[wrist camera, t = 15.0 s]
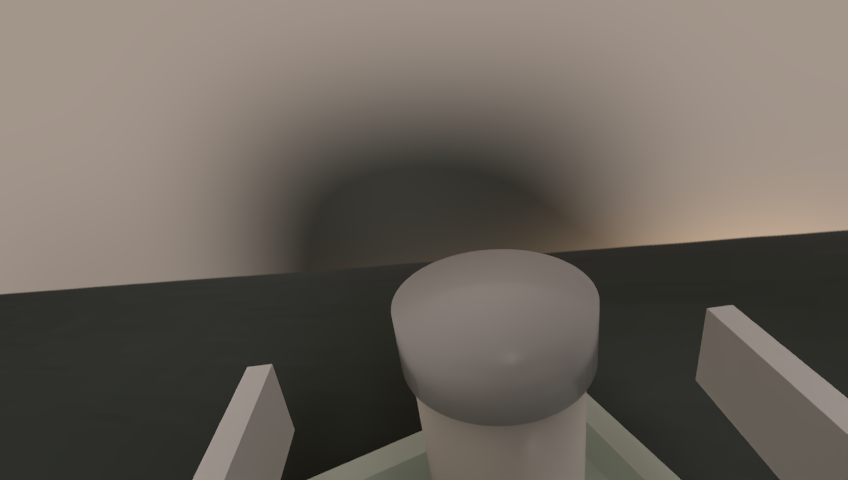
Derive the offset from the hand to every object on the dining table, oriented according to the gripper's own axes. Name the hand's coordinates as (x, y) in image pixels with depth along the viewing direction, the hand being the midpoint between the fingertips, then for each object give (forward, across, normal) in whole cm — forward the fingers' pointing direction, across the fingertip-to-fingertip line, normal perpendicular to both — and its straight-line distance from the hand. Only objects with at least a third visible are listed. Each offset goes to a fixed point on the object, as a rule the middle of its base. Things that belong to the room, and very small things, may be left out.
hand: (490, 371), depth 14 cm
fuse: (-2, 0, -10) cm, 10 cm away
